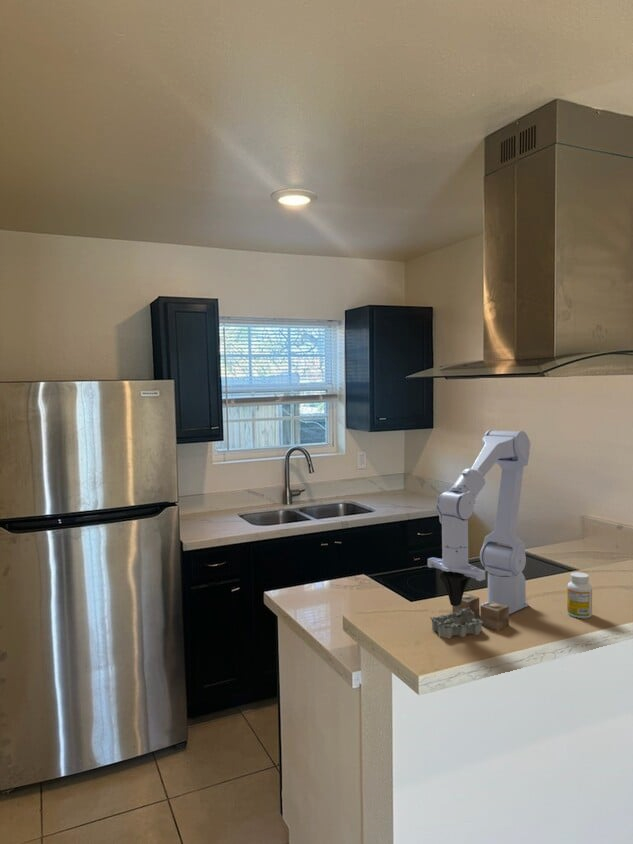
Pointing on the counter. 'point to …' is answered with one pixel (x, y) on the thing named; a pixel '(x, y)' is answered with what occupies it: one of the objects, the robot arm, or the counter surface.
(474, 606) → the dotted block
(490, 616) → the dotted block
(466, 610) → the egg carton
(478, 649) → the counter surface
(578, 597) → the supplement bottle
